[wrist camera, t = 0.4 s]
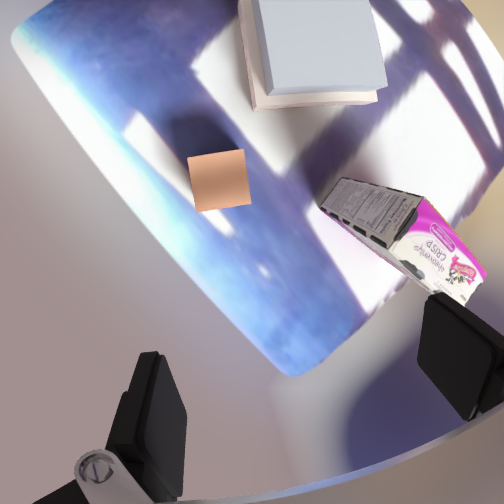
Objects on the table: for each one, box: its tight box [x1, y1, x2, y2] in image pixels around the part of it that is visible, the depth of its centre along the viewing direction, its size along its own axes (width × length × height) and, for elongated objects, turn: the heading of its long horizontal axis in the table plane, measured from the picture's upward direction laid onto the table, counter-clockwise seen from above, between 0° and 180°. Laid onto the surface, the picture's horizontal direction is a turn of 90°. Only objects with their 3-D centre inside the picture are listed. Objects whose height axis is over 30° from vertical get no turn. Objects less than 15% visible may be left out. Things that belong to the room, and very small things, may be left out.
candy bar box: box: [319, 177, 487, 307], centre depth 28 cm, size 11×5×16 cm, turn 55°
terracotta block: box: [187, 149, 251, 212], centre depth 30 cm, size 5×5×6 cm
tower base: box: [238, 0, 378, 111], centre depth 28 cm, size 13×13×4 cm
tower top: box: [251, 0, 388, 96], centre depth 24 cm, size 11×11×4 cm
